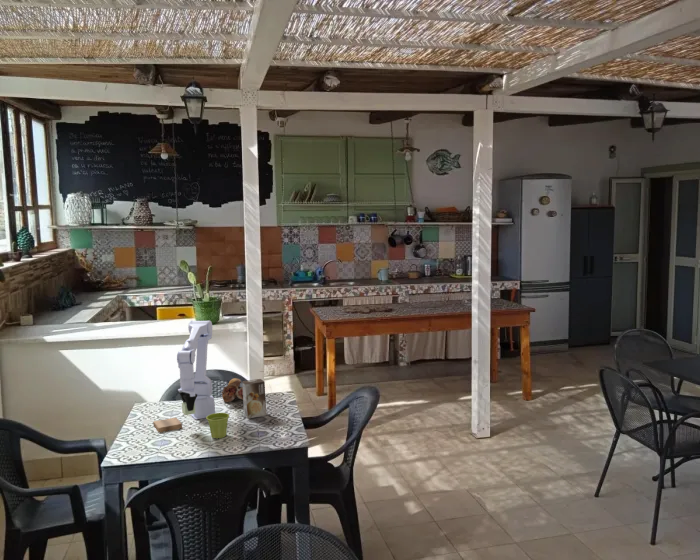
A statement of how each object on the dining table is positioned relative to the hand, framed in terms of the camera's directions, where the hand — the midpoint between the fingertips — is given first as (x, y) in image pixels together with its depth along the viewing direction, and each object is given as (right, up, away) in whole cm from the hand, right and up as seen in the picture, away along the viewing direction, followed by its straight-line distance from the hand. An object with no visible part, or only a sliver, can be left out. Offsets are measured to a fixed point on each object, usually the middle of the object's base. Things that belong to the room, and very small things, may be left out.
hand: (188, 409), depth 263 cm
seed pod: (+11, -5, +43) cm, 44 cm away
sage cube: (0, -2, 0) cm, 2 cm away
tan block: (-11, -10, +6) cm, 15 cm away
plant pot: (+14, -10, -7) cm, 19 cm away
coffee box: (+26, -7, +19) cm, 33 cm away
